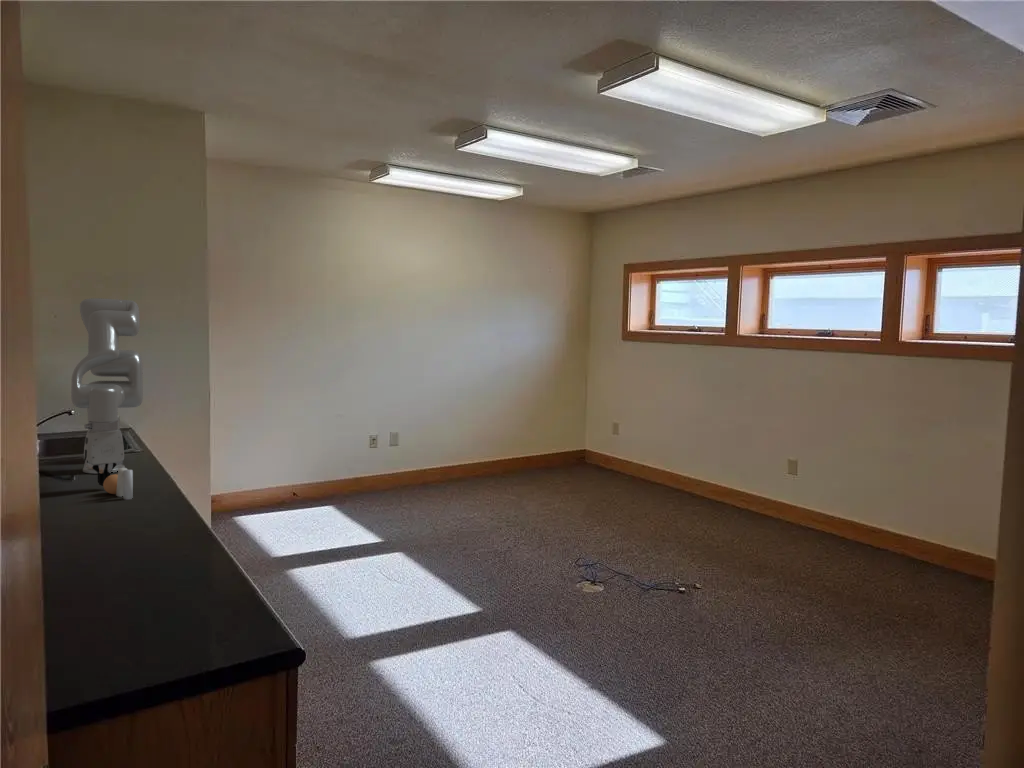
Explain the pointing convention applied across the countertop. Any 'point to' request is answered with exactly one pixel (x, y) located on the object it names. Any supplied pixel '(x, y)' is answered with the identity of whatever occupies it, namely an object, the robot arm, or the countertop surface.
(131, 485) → the pin
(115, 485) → the ball
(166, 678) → the countertop surface
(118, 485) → the pin
